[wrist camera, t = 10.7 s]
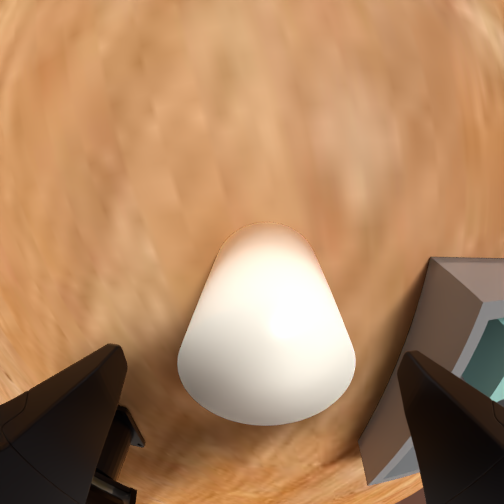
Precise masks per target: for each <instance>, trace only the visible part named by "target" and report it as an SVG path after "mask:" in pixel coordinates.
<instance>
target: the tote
mask: <svg viewBox="0 0 504 504" xmlns="http://www.w3.org/2000/svg"><path fill="white" fill-rule="evenodd" d="M503 317H504V258H459V257H430V261H429V266H428V270H427V274H426V278H425V281H424V285H423V289H422V292H421V296H420V299H419V302H418V306H417V309H416V312H415V315H414V318H413V321H412V324H411V327H410V330H409V333H408V336H407V338H406V341H405V344H404V346H403V349H402V352H401V354H400V357H399V359H398V362H397V364H396V366H395V369H394V371H393V373H392V376H391V378H390V380H389V383H388V385H387V387H386V389H385V391H384V393H383V395H382V397H381V400H380V402H379V404H378V406H377V408H376V410H375V411H374V413H373V415H372V417H371V419H370V421H369V423H368V425H367V426H366V428H365V430H364V432H363V434H362V435H361V437H360V439H359V440H358V444H359V448H360V453H361V457H362V462H363V466H364V471H365V476H366V481H367V486H369V485H374V484H378V483H382V482H387V481H391V480H394V479H398V478H402V477H405V476H409V475H412V474H415V473H418V472H420V470H419V466H418V461H417V457H416V453H415V449H414V446H413V442H412V438H411V435H410V431H409V427H408V424H407V421H406V417H405V413H404V408H403V403H402V398H401V393H400V388H399V383H398V378H397V370H398V367H399V365H400V362H401V360H402V357H403V355H404V353H405V352H406V351H411V350H418V351H419V352H421V353H422V354H424V355H425V356H427V357H428V358H430V359H431V360H433V361H435V362H436V363H438V364H439V365H441V366H442V367H444V368H445V369H447V370H448V371H450V372H451V373H453V374H454V375H456V376H457V377H459V378H460V379H462V380H463V381H465V380H464V378H463V377H462V374H463V372H464V370H465V368H466V367H467V365H468V363H469V361H470V359H471V357H472V355H473V353H474V351H475V349H476V347H477V345H478V343H479V341H480V339H481V337H482V335H483V332H484V330H485V328H486V326H487V323H488V321H489V320H493V319H498V318H503ZM465 382H466V381H465ZM497 403H498V404H500V405H501V406H503V407H504V399H502V400H500V401H498V402H497Z"/></svg>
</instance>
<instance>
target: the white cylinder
mask: <svg viewBox="0 0 504 504" xmlns="http://www.w3.org/2000/svg"><path fill="white" fill-rule="evenodd" d="M355 362H356V359H355V352H354V349H353V346H352V343H351V341H350V338H349V336H348V333H347V330H346V328H345V325H344V323H343V320H342V318H341V315H340V313H339V310H338V308H337V305H336V303H335V300H334V298H333V295H332V293H331V291H330V288H329V286H328V283H327V281H326V279H325V276H324V274H323V272H322V269H321V267H320V265H319V262H318V260H317V258H316V256H315V253H314V251H313V249H312V247H311V245H310V244H309V242H308V241H307V240H306V239H305V238H304V237H303V236H302V235H301V234H300V233H299V232H297V231H296V230H294V229H292V228H290V227H288V226H286V225H283V224H279V223H274V222H259V223H253V224H250V225H247V226H245V227H242V228H240V229H239V230H237V231H236V232H234V233H233V234H232V235H230V236H229V237H228V238H227V240H226V241H225V242H224V243H223V245H222V246H221V248H220V250H219V252H218V255H217V257H216V259H215V262H214V264H213V267H212V269H211V271H210V274H209V276H208V279H207V281H206V284H205V286H204V289H203V291H202V294H201V296H200V299H199V301H198V304H197V306H196V309H195V311H194V314H193V316H192V319H191V321H190V324H189V327H188V329H187V332H186V334H185V337H184V340H183V342H182V345H181V347H180V350H179V354H178V362H177V366H178V373H179V376H180V379H181V382H182V384H183V386H184V388H185V389H186V390H187V392H188V393H189V395H190V396H191V397H192V398H193V399H194V400H195V401H196V402H197V403H199V404H200V405H201V406H202V407H204V408H205V409H207V410H208V411H210V412H212V413H214V414H216V415H218V416H220V417H223V418H225V419H228V420H231V421H234V422H238V423H243V424H249V425H260V426H272V425H283V424H288V423H293V422H297V421H301V420H304V419H306V418H309V417H311V416H314V415H316V414H318V413H320V412H321V411H323V410H325V409H326V408H328V407H329V406H330V405H332V404H333V403H334V402H335V401H337V400H338V399H339V398H340V397H341V395H342V394H343V393H344V392H345V391H346V389H347V388H348V386H349V384H350V382H351V380H352V378H353V375H354V371H355Z"/></svg>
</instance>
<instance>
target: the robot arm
mask: <svg viewBox="0 0 504 504" xmlns="http://www.w3.org/2000/svg"><path fill="white" fill-rule="evenodd" d="M126 372H127V362H126V359H125V356H124V353H123V350H122V348H121V346H119V345H116V344H107V345H105V346H103V347H102V348H100V349H98V350H97V351H95V352H93V353H91V354H90V355H88V356H86V357H85V358H83V359H81V360H80V361H78V362H76V363H74V364H73V365H71V366H69V367H68V368H66V369H64V370H62V371H61V372H59V373H57V374H56V375H54V376H52V377H50V378H49V379H47V380H45V381H43V382H42V383H40V384H38V385H37V386H35V387H33V388H31V389H30V390H29V391H26V392H24V393H23V394H21V395H19V396H17V397H16V398H14V399H12V400H10V401H8V402H6V403H4V404H2V405H0V504H135V503H136V494H137V490H135V489H133V488H129V487H127V486H124V485H122V484H120V483H118V482H117V479H118V477H119V474H120V471H121V468H122V465H123V463H124V460H125V457H126V455H127V452H128V449H129V446H130V445H134V446H138V447H144V446H145V442H144V440H143V438H142V436H141V435H140V433H139V431H138V429H137V427H136V425H135V423H134V421H133V420H132V418H131V416H130V414H129V412H128V410H127V409H125V408H123V407H120V406H118V403H119V399H120V395H121V391H122V387H123V383H124V380H125V376H126ZM397 378H398V383H399V388H400V393H401V398H402V403H403V408H404V413H405V417H406V421H407V424H408V427H409V431H410V435H411V438H412V442H413V446H414V449H415V453H416V457H417V461H418V466H419V470H420V474H421V479H422V483H423V488H424V493H425V498H426V504H504V407H503V406H501V405H500V404H498V403H497V402H495V401H494V400H492V399H491V398H489V397H488V396H486V395H485V394H483V393H482V392H480V391H479V390H477V389H476V388H474V387H472V386H471V385H469V384H468V383H466V382H465V381H463V380H462V379H460V378H459V377H457V376H456V375H454V374H453V373H451V372H450V371H448V370H447V369H445V368H444V367H442V366H441V365H439V364H438V363H436V362H435V361H433V360H431V359H430V358H428V357H427V356H425V355H424V354H422V353H421V352H419V351H418V350H411V351H406V352H405V353H404V355H403V357H402V360H401V362H400V365H399V367H398V370H397Z"/></svg>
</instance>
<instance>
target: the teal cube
mask: <svg viewBox="0 0 504 504" xmlns="http://www.w3.org/2000/svg"><path fill="white" fill-rule="evenodd" d="M462 377H463V378H464V380H465V381H466V383H468V384H469V385H471V386H472V387H474V388H476V389H477V390H479V391H480V392H482V393H483V394H485V395H486V396H488V397H489V398H491V399H492V400H494V401H495V402H498V401H500V400H502V399H504V317H503V318H498V319H493V320H489V321H488V323H487V326H486V328H485V330H484V332H483V335H482V337H481V339H480V341H479V343H478V345H477V347H476V349H475V351H474V353H473V355H472V357H471V359H470V361H469V363H468V365H467V367H466V368H465V370H464V372H463V374H462Z"/></svg>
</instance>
